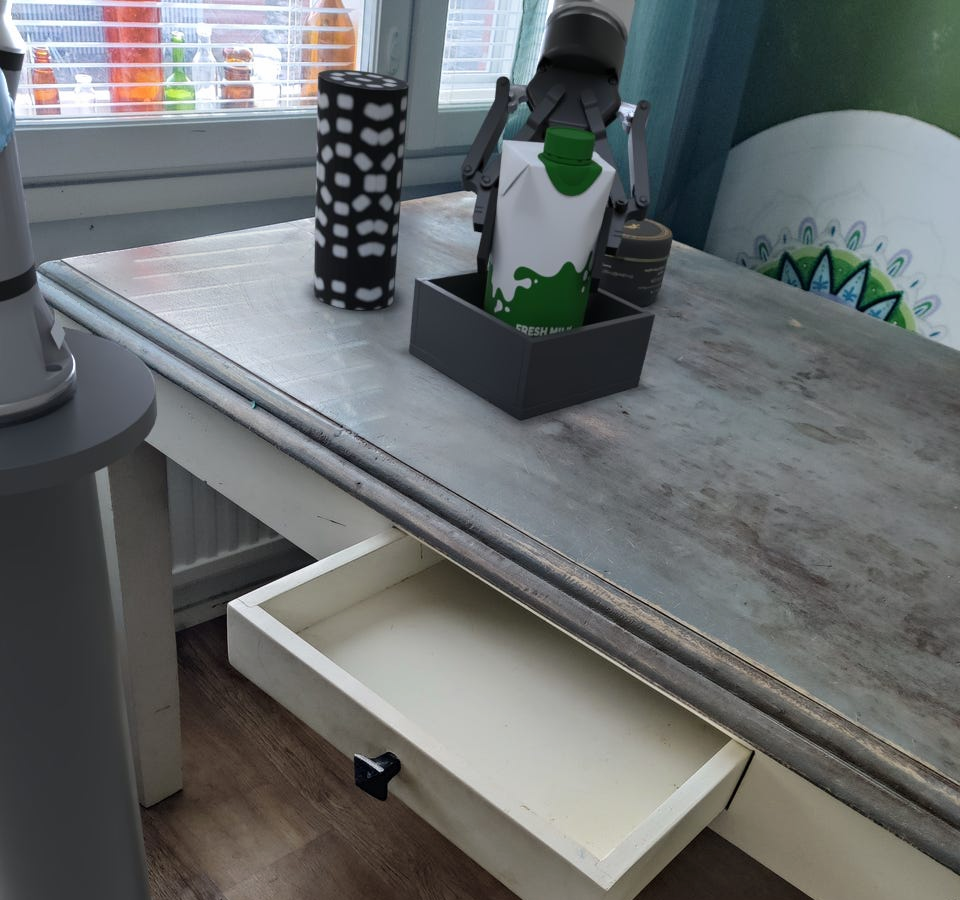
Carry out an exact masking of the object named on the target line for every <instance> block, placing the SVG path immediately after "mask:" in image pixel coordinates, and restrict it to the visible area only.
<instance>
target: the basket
mask: <svg viewBox="0 0 960 900" xmlns="http://www.w3.org/2000/svg"><path fill="white" fill-rule="evenodd" d="M488 269H489V266H488V267H487V272H486V274H481V273H477V268H473V269H472V268H471V269H467V270H459V271H454V272H453V271H452V272H448V273H442V274H436V275H429V276H422V277H417V278H415V279H414V288H413V300H412V301H413V302H412V309H411V310H412V311H411V322H410V323H411V324H410V335H409V350H408V353H409V354H411V355H413V356H414V357H416V358H418V359H419V360H421V361H423V362H424V363H426V364H427V365H429V366H430V367H432V368H433V369H435V370H437V371H439V372H440V373H442V374H444V375H445V376H446V377H448V378H450V379H452V380H453V381H455V382H457V383H458V384H460V385H462V386H463V387H464V388H466V389H468V390H470V391H471V392H472V393H474V394H476V395H478V396H480V397H481V398H483V399H484V400H486V401H488V402H490V403H491V404H493V405H494V406H496V407H497V408H499V409H500V410H502V411H504V412H506V413H507V414H509V415H511V416H512V417H514V418H515V419H517V420H519V421H521V420H526V419H528V418H532V417H536V416H539V415H542V414H546V413H550V412H553V411H557V410H560V409H564V408H567V407H571V406H574V405H577V404H581V403H585V402H588V401H591V400H594V399H599V398H602V397H606V396H609V395H612V394H616V393H620V392H623V391H626V390H631V389H634V388H636V387H639V385H640V381H641V376H642V373H643V372H642V371H643V368H644V363H645V359H646V357H647V352H648V347H649V342H650V338H651V334H652V330H653V325H654V322H655V318H656V314H655V313H653V312H651V311H649V310H646V309H644V308H643V307H638V306H636V305H634V304H632V303H630V302H628V301H626V300H623V299H621V298H619V297H617V296H615V295H613V294H611V293H609V292H607V291H605V290H602V289H600V288H598V292H597V294H594V293H589V294H588V299H587V304H586V309H585V315H584V320H583V325H582V327H578V328H574V329H569V330H565V331H560V332H556V333H551V334H547V335H542V336H538V337H533V338H532V337H531V336H529V335H527V334H525V333H524V332H522V331H520V330H518V329H516V328H514V327H512V326H511V325H509V324H507V323H505V322H503V321H501V320H499V319H498V318H496V317H494V316H492V315H490V314H488V313H486V312H485V311H484V303H485V294H486V285H487V277H488Z"/></svg>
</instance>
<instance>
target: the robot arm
mask: <svg viewBox="0 0 960 900" xmlns="http://www.w3.org/2000/svg"><path fill="white" fill-rule="evenodd" d="M548 3H549V4H548V7H547V14H546V19H545V24H544V31H543V34H542V37H541V42H540V47H539V52H538V58H537V62H536V67H535V70H534V75H532V77H531V79H530V80H529V81H528V82H527V84H516V83H511V80H510V78H509V77H508V76H504V75H501V76H499V77H498V78H497V79H496V81H495V92H494V100H493V102H492V104H491V107H490V108H489V110H488V112H487V114H486V116H485V119H484V120H483V122H482V124H481V125H480V128H479V130H478V132H477V135H476V137H475V138H474V141H473V143H472V145H471V146H470V149H469V151H468V153H467V155H466V156H465V158H464V161H463V162H462V165H461V167H460V178H461V188H462V189H463V191H464V192H467V193H469V192H472V193H474V194H475V195H476V200H475V203H474V209H473V212H472V228H473V232H475V233H480V234H481V235H480V240H479V244H478V250H477V254H476V269H477V273H481V274H486V272H487V267H489V261H490V253H491V246H492V238H493V230H494V222H495V214H496V207H497V199H498V189H499V179H500V168H501V157H502V151H501V152H500V153H499V154H498V155H497V156H496V158H495V159H494V160H493V161H492V163H491V164H490V165H489V166H488V167H487V168H486V166H487V164H488V162H489V160H490V159H491V156H492V154H493V153H494V150H495V148H496V146H497V144H498V142H499V140H500V138H501V136H502V134H503V132H504V129H505V128H506V126H507V124H508V119H509V115H513V114H514V113H515V112H516V111H517V110H518V109H519V106H520V105H521V104H523V103H525V104H526V106H527V108H528V110H529V112H530V114H529V115H528V117H527V119H526V121H525V122H524V124H523V126H522V127H521V128H520V129H519V131H518V132H517V133H516V134H515V135H514V136H513V137H512V139H511V141H524V142H537V143H544V142H545V136H546V130H547V129H548V128H550V127H569V128H575V129H580V130H584V131H587V132H590V133H592V134H593V135H595V144H594V150H593V152H596V153H597V154H598V155H599V156H600V157H601V158H602V159H603V160H605V161H606V162H607V163H608V164H609V165H611V166H612V167H613V168H614V169H615V170H616V171H615V176H614V179H613V183H612V186H611V190H610V193H609V197H608V200H607V204H606V208H605V211H604V216H603V220H602V225H601V230H600V236H599V241H598V246H597V251H596V256H595V262H594V267H593V272H592V277H591V282H590V288H589V293H594V294H597V292H598V287H599V282H600V277H601V272H602V267H603V262H604V256H605V255H610V256H616V255H617V253H618V252H619V248H620V244H621V239H622V234H623V229H624V224H625V223H626V222H627V221H629V220H634V219H635V220H636V221H643V220H644V219H645V218H646V219H647V214H648V211H649V207H650V202H651V191H650V190H651V189H650V175H649V163H648V161H649V160H648V148H647V147H648V146H647V145H648V144H647V134H646V132H647V131H646V128H647V125H648V122H649V121H648V120H649V117H650V112H651V107H652V106H651V103H650V102H649V101H648V100H646V99H642V100H640V101H638V102H637V104H633V103H630V102H627V101H622V97H621V95H620V92H619V89H620V88H619V87H620V83H621V77H622V74H623V69H624V62H625V57H626V47H627V46H628V40H629V36H630V31H631V26H632V20H633V17H634V16H633V15H634V11H635V6H636V0H549V2H548ZM12 5H13V0H0V428H4V427H9V426H14V425H19V424H22V423H26V422H30V421H33V420H36V419H39V418H41V417H44V416H46V415H48V414H50V413H52V412H54V411H56V410H58V409H59V408H61V407H62V406H64V405H65V404H66V403H67V402H69V401H70V400H71V398H72V397H73V396H74V394H75V392H76V390H77V384H78V383H77V376H76V368H75V361H74V358H73V356H72V354H71V352H70V350H69V348H68V346H67V344H66V342H65V340H64V336H65V332H64V330H63V328H62V327H63V326H62V323H61V321H60V320H59V317H58V316H56V318H55V317H54V315H53V314H52V311H51V310H50V308H49V306H48V303H47V302H46V300H45V297H44V296H43V294H42V292H41V289H40V286H39V281H38V276H37V269H36V263H35V254H34V248H33V247H34V246H33V241H32V234H31V229H30V221H29V215H28V208H27V202H26V201H27V200H26V195H25V189H24V181H23V175H22V169H21V162H20V157H19V150H18V143H17V137H16V130H15V127H16V125H17V121H16V120H17V119H16V108H15V104H16V100H17V95H18V90H19V85H20V79H21V75H22V71H23V65H24V59H25V55H26V51H27V45H26V43H25V41H24V39H23V37H22V36H21V34H20V32H19V31H18V29H17V27H16V25H15V24H14V22H13V18H12V13H11V10H12ZM617 119H619V120H620V121H621V123H622V130H623V131H624V133H625V135H628V139H627V154H628V167H629V184H630V196H629V195H628V196H627V193H626V191H625V188H624V184H623V181H622V179H621V175H620V172H619V170H618V167H617V163H616V161H615V158H614V155H613V152H612V149H611V146H610V143H609V140H608V136H607V135H608V134H607V127H609V126H610V125H611V124H613V122H615V121H616V120H617ZM485 169H486V170H485ZM484 170H485V171H484Z"/></svg>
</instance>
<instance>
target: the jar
mask: <svg viewBox="0 0 960 900" xmlns="http://www.w3.org/2000/svg"><path fill="white" fill-rule="evenodd" d="M673 237H674V235H673V232H672V231H671V229H670V228H668V227H667V226H665V225H664V224H662V223H660V222H658V221H655V220H653V219H649V218H647V217H646V218H645V219H644V220H643V221H636V220H635V219H634V220H629V221H627V222H626V223H625V224H624V229H623V234H622V239H621V244H620V248H619V252H618V253H617V255H616V256H610V255H605V256H604V262H603V267H602V272H601V277H600V282H599V287H598V288H600V289H602V290H605V291H607V292H609V293H611V294H613V295H615V296H617V297H619V298H621V299H623V300H626V301H628V302H630V303H632V304H634V305H636V306H638V307H640V308H643V307H646V306H649V305H650V304H651V303H652V302H653V301H655V299H656V298H657V296H658V294H659V292H660V290H661V288H662V284H663V281H664V277H665V272H666V269H667V263H668V259H669V258H670V256H671V252H672V251H671V249H672V244H673Z"/></svg>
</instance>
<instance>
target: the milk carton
mask: <svg viewBox="0 0 960 900" xmlns="http://www.w3.org/2000/svg"><path fill="white" fill-rule="evenodd" d="M511 140H512V139H511ZM511 140H509V139H503V140H502V145H501V146H502V148H501V152H502V157H501V168H500V179H499V189H498V199H497V207H496V214H495V222H494V230H493V238H492V246H491V252H490V257H489V262H488V267H489V269H488V277H487V285H486V294H485V303H484V311H485V312H486V313H488V314H490V315H492V316H494V317H496V318H498V319H499V320H501V321H503V322H505V323H507V324H509V325H511V326H512V327H514V328H516V329H518V330H520V331H522V332H524V333H525V334H527V335H529V336H531V337H532V338H533V337H538V336H542V335H547V334H551V333H556V332H560V331H565V330H569V329H574V328H578V327H582V325H583V320H584V315H585V309H586V304H587V299H588V294H589V288H590V282H591V277H592V272H593V267H594V262H595V256H596V251H597V246H598V241H599V236H600V230H601V225H602V220H603V216H604V211H605V208H606V207H607V205H606V204H607V200H608V197H609V193H610V190H611V186H612V183H613V179H614V176H615V171H616V170H615V169H614V168H613V167H612V166H611V165H609V164H608V163H607V162H606V161H605V160H603V159H602V158H601V157H600V156H599V155H598V154H597V153H596V152H593V150H594V144H595V135H593V134H592V133H590V132H587V131H584V130H580V129H575V128H569V127H550V128H548V129H547V130H546V136H545V141H544V142H543V143H537V142H524V141H511Z"/></svg>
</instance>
